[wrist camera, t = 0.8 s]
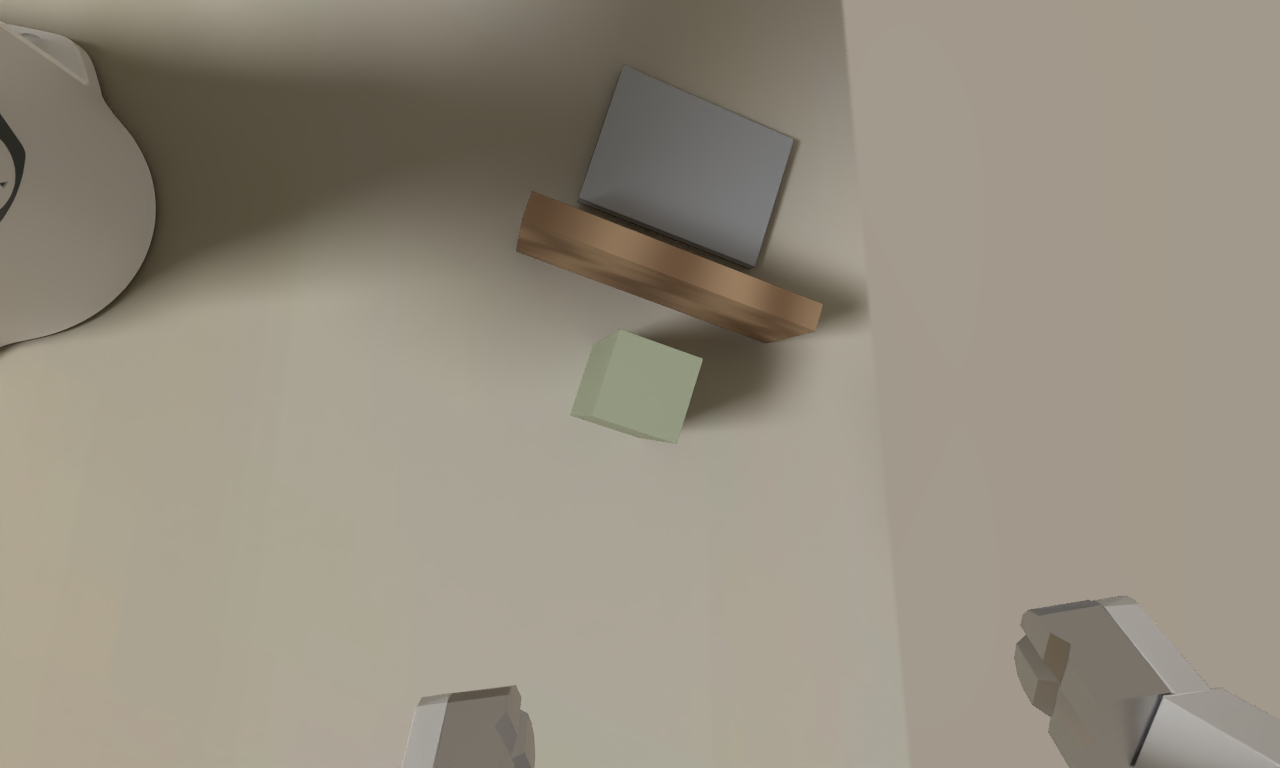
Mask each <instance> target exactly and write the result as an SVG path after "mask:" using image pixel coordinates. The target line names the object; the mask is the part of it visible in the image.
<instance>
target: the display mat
mask: <svg viewBox="0 0 1280 768" xmlns="http://www.w3.org/2000/svg"><path fill="white" fill-rule="evenodd" d="M793 141H794V139H792V138H790V137H787V136H785V135H783V134H780V133H778V132H776V131H774V130H771V129H769V128H767V127H764V126H762V125H760V124H758V123H755V122H753V121H751V120H748V119H746V118H744V117H742V116H739V115H737V114H735V113H732V112H730V111H728V110H726V109H723V108H721V107H719V106H716V105H714V104H712V103H710V102H707V101H705V100H703V99H700V98H698V97H696V96H694V95H691V94H689V93H687V92H684V91H682V90H680V89H678V88H675V87H673V86H671V85H668V84H666V83H664V82H662V81H659V80H657V79H655V78H652V77H650V76H648V75H646V74H643V73H641V72H639V71H636V70H634V69H632V68H630V67H627V66H625V65H624V66H623V68H622V71H621V74H620V77H619V80H618V83H617V86H616V89H615V92H614V94H613V97H612V100H611V103H610V106H609V109H608V112H607V115H606V118H605V121H604V124H603V127H602V130H601V133H600V136H599V139H598V142H597V145H596V147H595V150H594V153H593V156H592V159H591V162H590V165H589V168H588V171H587V174H586V177H585V180H584V183H583V186H582V189H581V192H580V195H579V198H578V200H577V201H578V202H580V203H583V204H585V205H588V206H590V207H593V208H595V209H598V210H601V211H603V212H606V213H608V214H611V215H613V216H616V217H619V218H621V219H624V220H626V221H629V222H631V223H634V224H636V225H639V226H642V227H644V228H647V229H649V230H652V231H654V232H657V233H659V234H662V235H665V236H667V237H670V238H672V239H675V240H677V241H680V242H682V243H685V244H688V245H690V246H693V247H695V248H698V249H700V250H703V251H706V252H708V253H711V254H713V255H716V256H718V257H721V258H723V259H726V260H729V261H731V262H734V263H736V264H739V265H741V266H744V267H746V268H749V269H751V268H753V267H755V265H756V261H757V258H758V255H759V252H760V248H761V245H762V242H763V239H764V235H765V232H766V229H767V225H768V222H769V219H770V216H771V212H772V209H773V206H774V203H775V199H776V196H777V193H778V190H779V186H780V183H781V180H782V177H783V173H784V170H785V167H786V164H787V160H788V157H789V154H790V151H791V147H792V144H793Z"/></svg>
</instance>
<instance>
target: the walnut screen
mask: <svg viewBox="0 0 1280 768" xmlns="http://www.w3.org/2000/svg"><path fill="white" fill-rule="evenodd" d="M516 251H517V252H520V253H523V254H525V255H528V256H531V257H533V258H536V259H539V260H542V261H544V262H547V263H550V264H552V265H555V266H558V267H560V268H563V269H566V270H569V271H571V272H574V273H577V274H579V275H582V276H585V277H588V278H590V279H593V280H596V281H598V282H601V283H604V284H607V285H609V286H612V287H615V288H617V289H620V290H623V291H625V292H628V293H631V294H634V295H636V296H639V297H642V298H644V299H647V300H650V301H653V302H655V303H658V304H661V305H663V306H666V307H669V308H672V309H674V310H677V311H680V312H682V313H685V314H688V315H691V316H693V317H696V318H699V319H701V320H704V321H707V322H709V323H712V324H715V325H718V326H720V327H723V328H726V329H728V330H731V331H734V332H737V333H739V334H742V335H745V336H747V337H750V338H753V339H756V340H758V341H761V342H764V343H769V342H773V341H777V340H781V339H785V338H789V337H793V336H798V335H802V334H806V333H810V332H814V331H816V327H817V324H818V321H819V317H820V314H821V310H822V307H823V304H821V303H819V302H816V301H814V300H811V299H808V298H806V297H803V296H801V295H798V294H796V293H793V292H790V291H788V290H785V289H783V288H780V287H778V286H775V285H772V284H770V283H767V282H765V281H762V280H760V279H757V278H754V277H752V276H749V275H747V274H744V273H741V272H739V271H736V270H734V269H731V268H729V267H726V266H723V265H721V264H718V263H716V262H713V261H711V260H708V259H705V258H703V257H700V256H698V255H695V254H693V253H690V252H687V251H685V250H682V249H680V248H677V247H675V246H672V245H669V244H667V243H664V242H662V241H659V240H657V239H654V238H651V237H649V236H646V235H644V234H641V233H639V232H636V231H633V230H631V229H628V228H626V227H623V226H621V225H618V224H615V223H613V222H610V221H608V220H605V219H602V218H600V217H597V216H595V215H592V214H590V213H587V212H584V211H582V210H579V209H577V208H574V207H572V206H569V205H566V204H564V203H561V202H559V201H556V200H554V199H551V198H548V197H546V196H543V195H541V194H538V193H536V192H533V191H532V193H531V195H530V198H529V201H528V204H527V207H526V210H525V213H524V216H523V218H522V223H521V228H520V234H519V239H518V244H517V250H516Z"/></svg>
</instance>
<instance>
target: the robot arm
mask: <svg viewBox="0 0 1280 768" xmlns="http://www.w3.org/2000/svg"><path fill="white" fill-rule="evenodd" d="M155 217H156V201H155V192H154V186H153V181H152V177H151V174H150V171H149V168H148V165H147V163H146V161H145V158H144V156H143V154H142V152H141V150H140V148H139V147H138V145H137V144H136V142H135V140H134V139H133V137H132V136H131V135H130V133H129V132H128V131H127V129H126V128H125V127H124V126H123V125H122V123H121V122H120V121H119V120H118V119H117V117H116V116H115V115H114V114H113V113H112V111H111V110H110V109H109V107H108V106H107V104H106V103H105V101H104V99H103V97H102V93H101V89H100V85H99V82H98V78H97V75H96V72H95V69H94V66H93V63H92V61H91V59H90V57H89V56H88V54H87V53H86V51H85V50H84V49H83V48H81V47H80V46H79V45H77V44H76V43H74V42H73V41H71V40H70V39H68V38H66V37H64V36H62V35H59V34H55V33H50V32H45V31H40V30H36V29H31V28H26V27H21V26H16V25H11V24H6V23H3V22H2V21H0V347H2V346H4V345H8V344H11V343H15V342H20V341H24V340H29V339H34V338H39V337H43V336H47V335H50V334H54V333H57V332H59V331H62V330H65V329H67V328H70V327H72V326H74V325H76V324H78V323H80V322H82V321H84V320H86V319H88V318H89V317H91V316H93V315H94V314H96V313H97V312H99V311H100V310H102V309H103V308H104V307H106V306H107V305H108V304H109V303H111V302H112V301H113V300H114V299H115V298H116V297H117V296H118V295H119V294H120V293H121V292H122V291H123V290H124V289H125V288H126V287H127V285H128V284H129V283H130V281H131V280H132V279H133V277H134V276H135V274H136V273H137V271H138V270H139V268H140V266H141V264H142V263H143V261H144V259H145V256H146V254H147V252H148V249H149V246H150V243H151V240H152V236H153V231H154V226H155ZM1020 625H1021V627H1022V629H1023V630H1024V632H1025V634H1026V635H1025V636H1024V637H1023V638H1022V639H1021V640H1020V641H1019V642H1018V643H1017V644H1016V650H1015V656H1014V659H1015V664H1016V670H1017V674H1018V677H1019V680H1020V682H1021V685H1022V687H1023V690H1024V691H1025V693H1026V695H1027V696H1028V698H1029V700H1030V702H1031V704H1032V705H1033V706H1035V707H1036V708H1038V709H1039V710H1041V711H1042V712H1044V713H1045V714H1047V715H1048V716H1050V724H1049V731H1048V732H1049V734H1050V736H1051V738H1052V739H1053V741H1054V742H1055V744H1056V746H1057V748H1058V749H1059V751H1060V753H1061V754H1062V756H1063V758H1064V759H1065V761H1066V763H1067V764H1068V766H1069V768H1280V719H1278V718H1276V717H1274V716H1272V715H1270V714H1269V713H1267V712H1265V711H1263V710H1261V709H1260V708H1258V707H1256V706H1254V705H1252V704H1250V703H1248V702H1247V701H1245V700H1243V699H1241V698H1240V697H1238V696H1236V695H1234V694H1232V693H1230V692H1229V691H1227V690H1225V689H1223V688H1213V689H1211V688H1210V687H1209V686H1208V684H1207V683H1206V682H1205V681H1204V680H1203V679H1202V677H1201V676H1200V675H1199V674H1198V673H1197V672H1196V670H1195V669H1194V668H1193V667H1192V666H1191V665H1190V663H1188V661H1187V660H1186V659H1185V658H1184V657H1183V655H1182V654H1181V653H1180V652H1179V651H1178V650H1177V648H1176V647H1175V646H1174V645H1173V644H1172V643H1171V641H1170V640H1169V639H1168V638H1167V637H1166V636H1165V635H1164V633H1163V632H1162V631H1161V630H1160V629H1159V627H1158V626H1157V625H1156V624H1155V623H1154V622H1153V620H1152V619H1151V618H1150V617H1149V616H1148V615H1147V613H1146V612H1145V611H1144V610H1143V609H1142V608H1141V606H1140V605H1139V604H1138V603H1137V602H1136V601H1135V600H1133V599H1132V598H1130V597H1128V596H1117V597H1111V598H1105V599H1099V600H1093V601H1090V600H1086V601H1080V602H1073V603H1067V604H1061V605H1055V606H1050V607H1043V608H1036V609H1031V610H1027V611H1026V612H1025V613H1024V614H1023V616H1022V621H1021V624H1020ZM520 705H521V696H520V693H519V691H518V689H517V687H516V685H513V686H505V687H497V688H489V689H482V690H474V691H466V692H458V693H449V694H442V695H435V696H428V697H422V698H421V700H420V702H419V703H418V705H417V707H416V709H415V713H414V717H413V721H412V725H411V729H410V733H409V737H408V741H407V745H406V750H405V754H404V758H403V762H402V766H401V768H534V766H535V744H534V733H533V728H532V723H531V721H530V718H529V715H528V714H527V713H526V712H524V711H522V710H520Z"/></svg>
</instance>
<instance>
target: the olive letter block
mask: <svg viewBox="0 0 1280 768" xmlns="http://www.w3.org/2000/svg"><path fill="white" fill-rule="evenodd" d="M702 361H703V359H702V358H700V357H697V356H694V355H691V354H688V353H686V352H683V351H680V350H677V349H674V348H672V347H669V346H666V345H663V344H660V343H658V342H655V341H652V340H649V339H646V338H644V337H641V336H638V335H635V334H632V333H630V332H627V331H624V330H621V329H619V330H618V331H616V332H615V333H613V334H611V335H610V336H608V337H607V338H605V339H603V340H602V341H600V342H599V343H597V344H595V345H594V346H593V347H592V350H591V353H590V356H589V359H588V362H587V365H586V368H585V371H584V374H583V377H582V380H581V383H580V386H579V389H578V392H577V396H576V399H575V402H574V405H573V408H572V411H571V414H570V415H571V416H574V417H577V418H580V419H583V420H586V421H589V422H592V423H595V424H598V425H602V426H605V427H608V428H611V429H614V430H617V431H620V432H623V433H626V434H629V435H632V436H635V437H639V438H645V439H650V440H656V441H662V442H668V443H674V444H677V442H678V438H679V435H680V432H681V429H682V426H683V422H684V419H685V416H686V413H687V409H688V406H689V403H690V400H691V397H692V393H693V390H694V387H695V384H696V380H697V377H698V374H699V371H700V368H701V364H702Z"/></svg>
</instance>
